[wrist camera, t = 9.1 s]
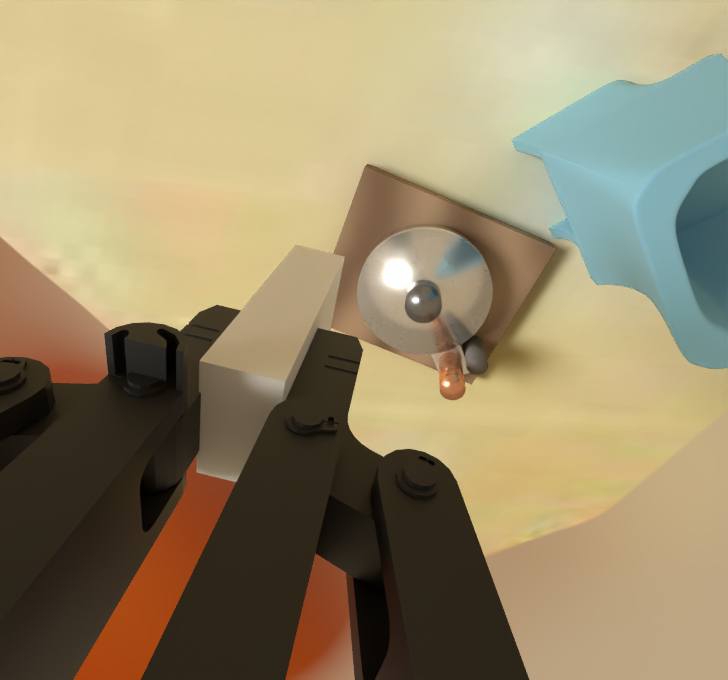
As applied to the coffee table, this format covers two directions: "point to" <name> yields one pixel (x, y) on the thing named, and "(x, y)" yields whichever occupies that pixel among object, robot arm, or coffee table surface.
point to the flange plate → (432, 264)
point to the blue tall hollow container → (650, 195)
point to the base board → (420, 206)
